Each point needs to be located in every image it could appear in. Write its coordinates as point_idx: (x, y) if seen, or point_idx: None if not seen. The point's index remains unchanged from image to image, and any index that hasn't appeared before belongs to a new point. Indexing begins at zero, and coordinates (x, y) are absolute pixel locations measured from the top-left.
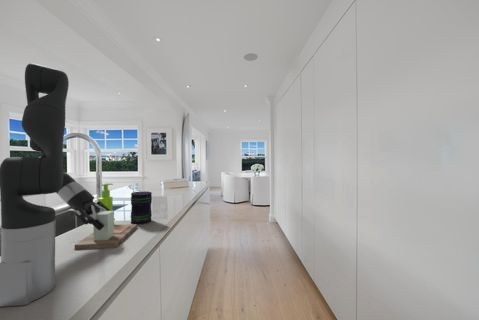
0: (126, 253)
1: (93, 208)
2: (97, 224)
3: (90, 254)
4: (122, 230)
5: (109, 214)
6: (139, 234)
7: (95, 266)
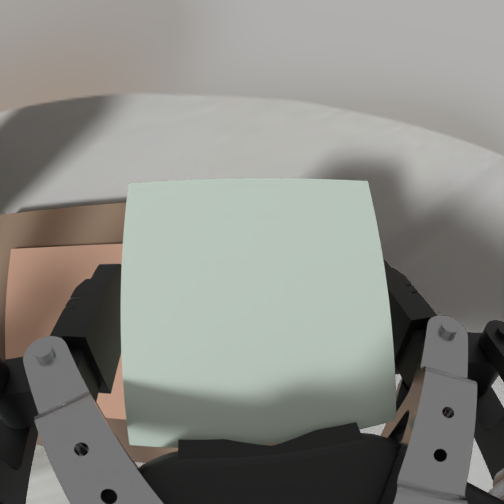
0: (380, 140)
1: (419, 492)
2: (417, 295)
3: None
4: (101, 252)
5: (310, 188)
6: (127, 157)
7: (475, 214)
